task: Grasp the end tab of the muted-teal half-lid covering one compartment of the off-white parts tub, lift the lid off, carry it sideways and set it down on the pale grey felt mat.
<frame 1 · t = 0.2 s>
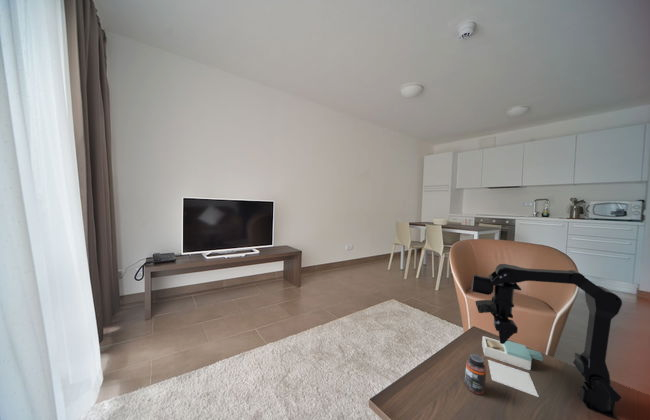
hand: (499, 336, 87), 14 cm above the table, fingers open, 9 cm apart
supplement bottle: (474, 388, 80), on the table
cube c: (494, 352, 98), resting on tub
lid: (516, 351, 94), point 4 cm above the table, touching tub
mat: (510, 377, 85), on the table
tub: (504, 356, 97), on the table
cube b: (512, 360, 94), resting on tub
cube a: (517, 357, 96), resting on tub
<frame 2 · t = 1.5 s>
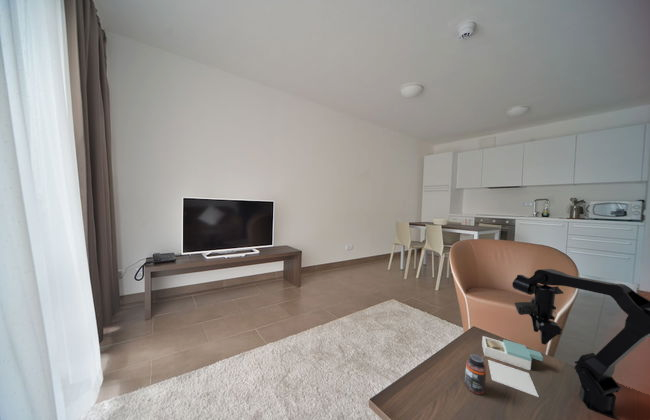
hand: (539, 337, 90), 13 cm above the table, fingers open, 9 cm apart
nothing on the table moved.
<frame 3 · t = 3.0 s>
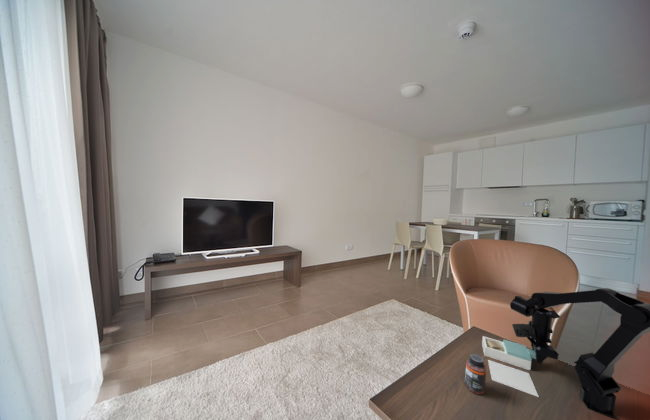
hand: (536, 359, 91), 3 cm above the table, fingers closed on lid, 3 cm apart
lid: (516, 351, 94), point 4 cm above the table, touching gripper, tub
everything else where it was.
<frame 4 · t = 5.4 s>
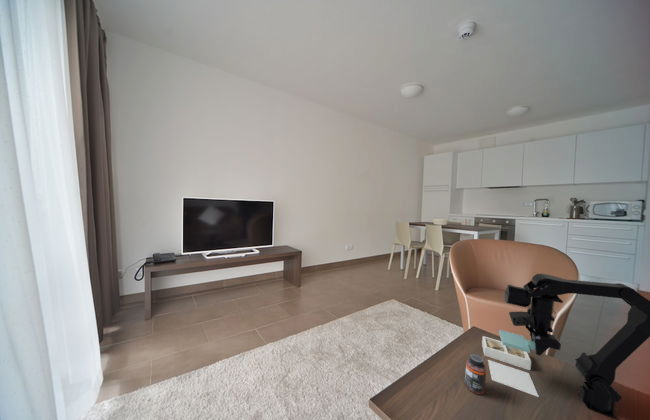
hand: (536, 351, 81), 13 cm above the table, fingers closed on lid, 3 cm apart
lid: (513, 341, 85), point 14 cm above the table, touching gripper
everything else where it was.
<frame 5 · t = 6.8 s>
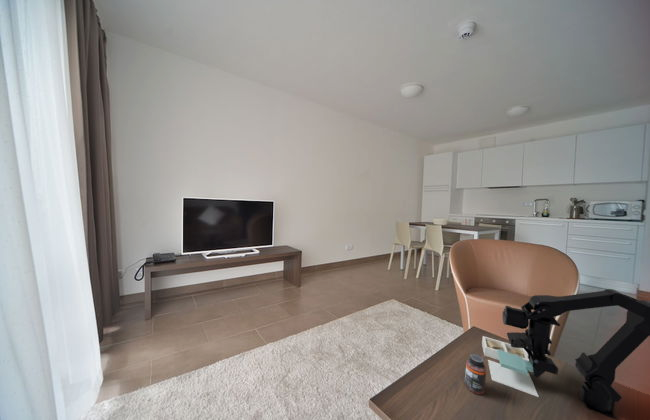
hand: (534, 373, 82), 5 cm above the table, fingers closed on lid, 3 cm apart
lid: (511, 362, 85), point 6 cm above the table, touching gripper
everything else where it was.
when the fingers open (1 cm above the table, at t = 7.8 s): lid drops 2 cm, resting on mat.
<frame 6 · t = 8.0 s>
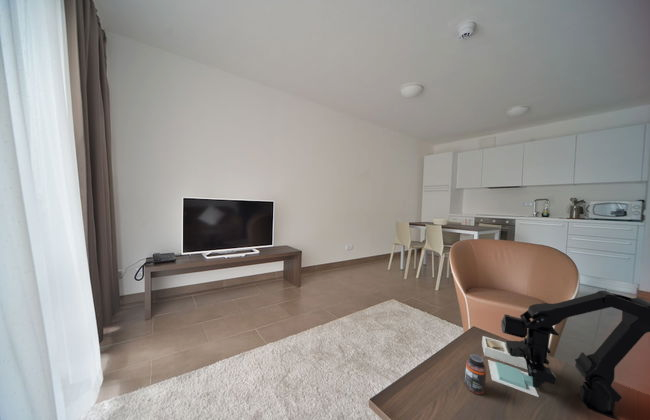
hand: (532, 381, 82), 1 cm above the table, fingers open, 5 cm apart
lid: (509, 375, 86), resting on mat
everything else where it was.
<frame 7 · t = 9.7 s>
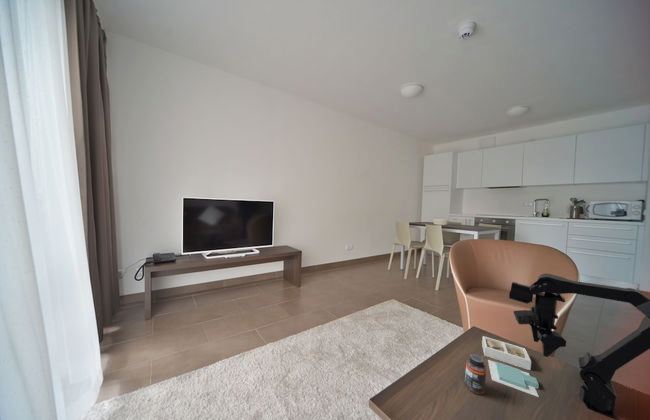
hand: (540, 348, 84), 12 cm above the table, fingers open, 9 cm apart
nothing on the table moved.
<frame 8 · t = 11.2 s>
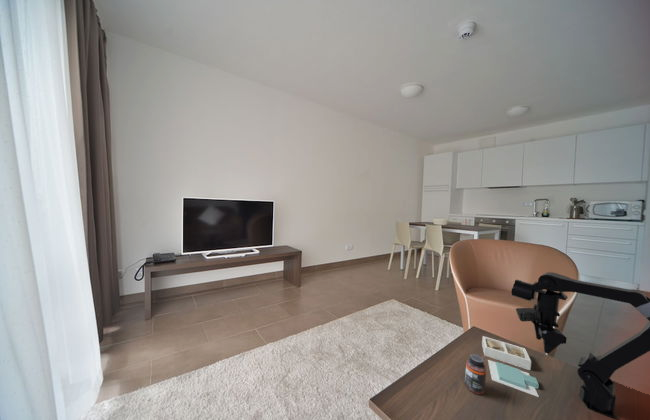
hand: (542, 345, 85), 12 cm above the table, fingers open, 9 cm apart
nothing on the table moved.
at the end: lid inside the target area on the mat (0.4 cm from its centre), point 0.4 cm above the mat's base; lid touching mat; the gripper is holding nothing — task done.
